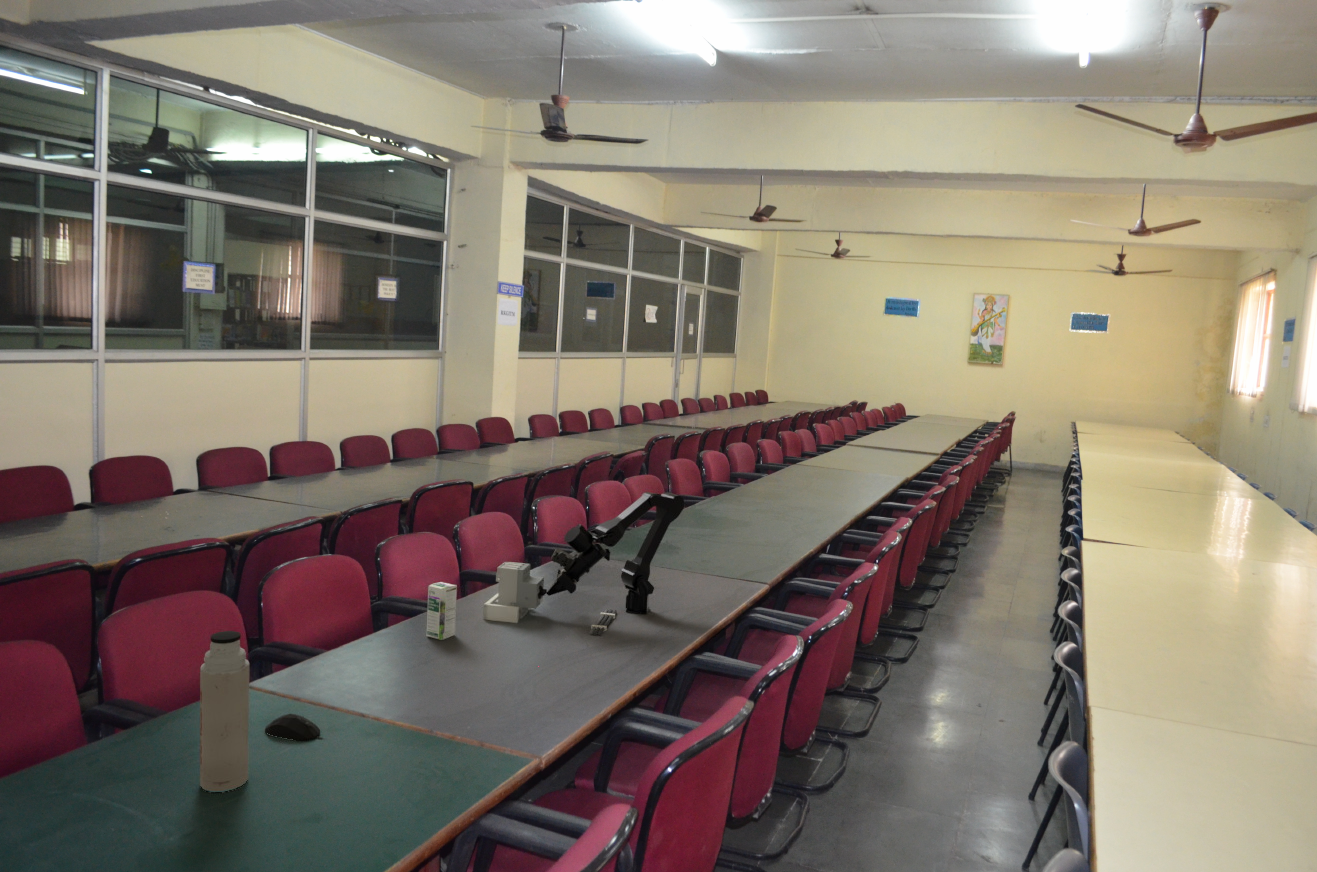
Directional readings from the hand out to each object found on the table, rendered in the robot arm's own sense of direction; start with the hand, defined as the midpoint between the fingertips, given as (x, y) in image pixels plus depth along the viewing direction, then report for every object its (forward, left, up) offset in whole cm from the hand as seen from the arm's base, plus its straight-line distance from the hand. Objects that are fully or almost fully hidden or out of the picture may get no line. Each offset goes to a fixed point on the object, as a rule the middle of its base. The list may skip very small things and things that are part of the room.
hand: (547, 594), depth 269 cm
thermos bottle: (+29, +112, -7) cm, 116 cm away
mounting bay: (+11, +2, -7) cm, 13 cm away
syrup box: (+23, +26, -7) cm, 35 cm away
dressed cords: (-18, +1, -7) cm, 19 cm away
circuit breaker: (+7, +2, -7) cm, 10 cm away
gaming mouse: (+27, +91, -7) cm, 95 cm away
